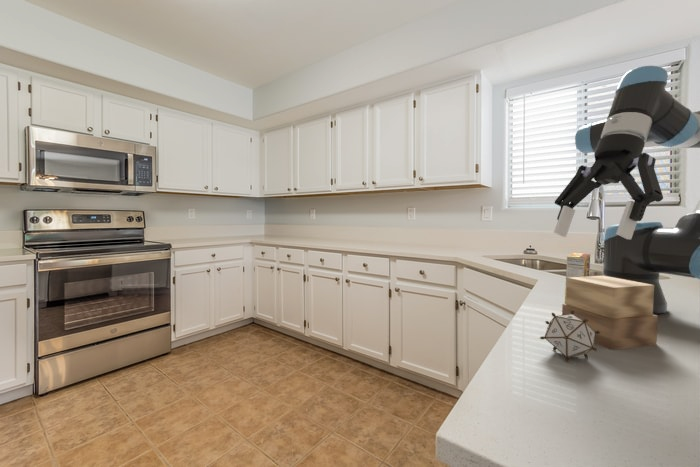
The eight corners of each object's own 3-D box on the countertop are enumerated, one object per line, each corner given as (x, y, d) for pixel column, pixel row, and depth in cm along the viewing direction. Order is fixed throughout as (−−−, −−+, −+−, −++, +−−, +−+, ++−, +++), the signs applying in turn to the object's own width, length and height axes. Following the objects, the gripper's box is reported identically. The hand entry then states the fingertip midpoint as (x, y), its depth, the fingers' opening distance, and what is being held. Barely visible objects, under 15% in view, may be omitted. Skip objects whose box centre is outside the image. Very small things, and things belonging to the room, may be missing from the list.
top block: (602, 301, 72) (603, 275, 72) (652, 314, 62) (654, 285, 62) (566, 304, 70) (567, 277, 70) (612, 318, 60) (613, 287, 60)
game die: (581, 380, 56) (622, 350, 50) (532, 360, 57) (566, 328, 51) (571, 340, 63) (606, 309, 56) (528, 322, 64) (558, 291, 58)
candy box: (569, 308, 86) (571, 252, 85) (588, 311, 84) (590, 253, 83) (563, 315, 80) (565, 255, 79) (584, 319, 77) (586, 257, 76)
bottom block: (601, 326, 73) (602, 300, 72) (656, 345, 62) (658, 315, 62) (561, 330, 71) (562, 304, 70) (611, 351, 60) (613, 320, 59)
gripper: (556, 147, 77) (527, 228, 76) (683, 111, 52) (643, 229, 51) (580, 160, 78) (551, 239, 77) (714, 131, 54) (675, 246, 53)
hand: (588, 235), depth 64 cm, fingers open, 13 cm apart
